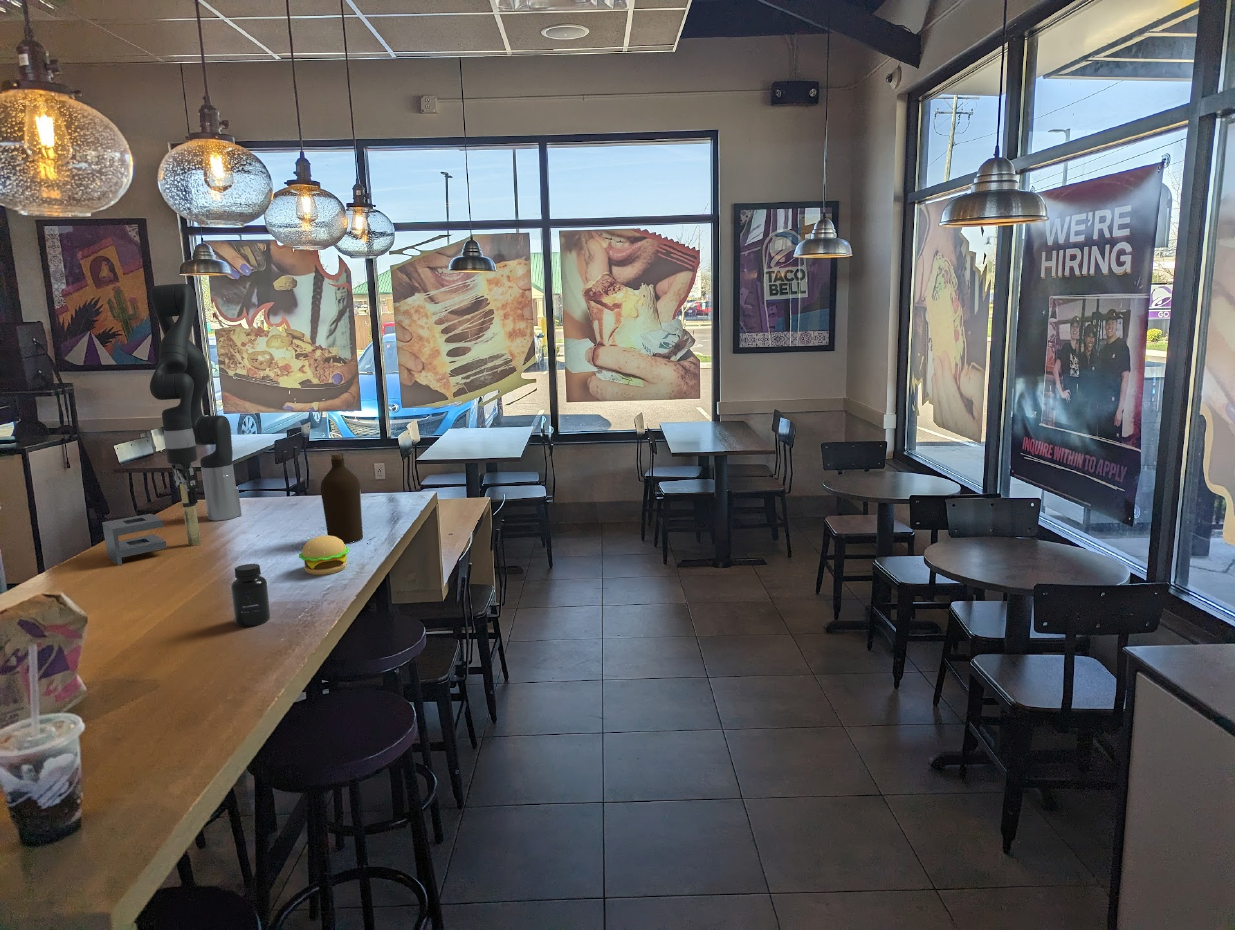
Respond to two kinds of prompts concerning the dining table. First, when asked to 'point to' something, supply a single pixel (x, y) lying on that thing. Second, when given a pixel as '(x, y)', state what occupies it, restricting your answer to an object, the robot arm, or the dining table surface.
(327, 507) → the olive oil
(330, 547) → the hamburger
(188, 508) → the brass tube
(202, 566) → the dining table surface
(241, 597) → the supplement bottle
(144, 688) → the dining table surface
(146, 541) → the collar stand
